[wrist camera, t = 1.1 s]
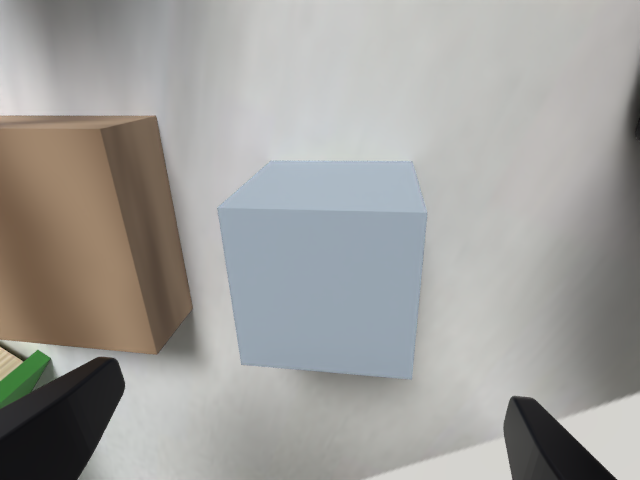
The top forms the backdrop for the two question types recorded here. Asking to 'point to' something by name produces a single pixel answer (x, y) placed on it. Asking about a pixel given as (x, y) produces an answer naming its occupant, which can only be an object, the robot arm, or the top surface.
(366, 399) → the top surface
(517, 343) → the top surface
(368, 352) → the grey cube
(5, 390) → the hardback book
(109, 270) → the walnut block
